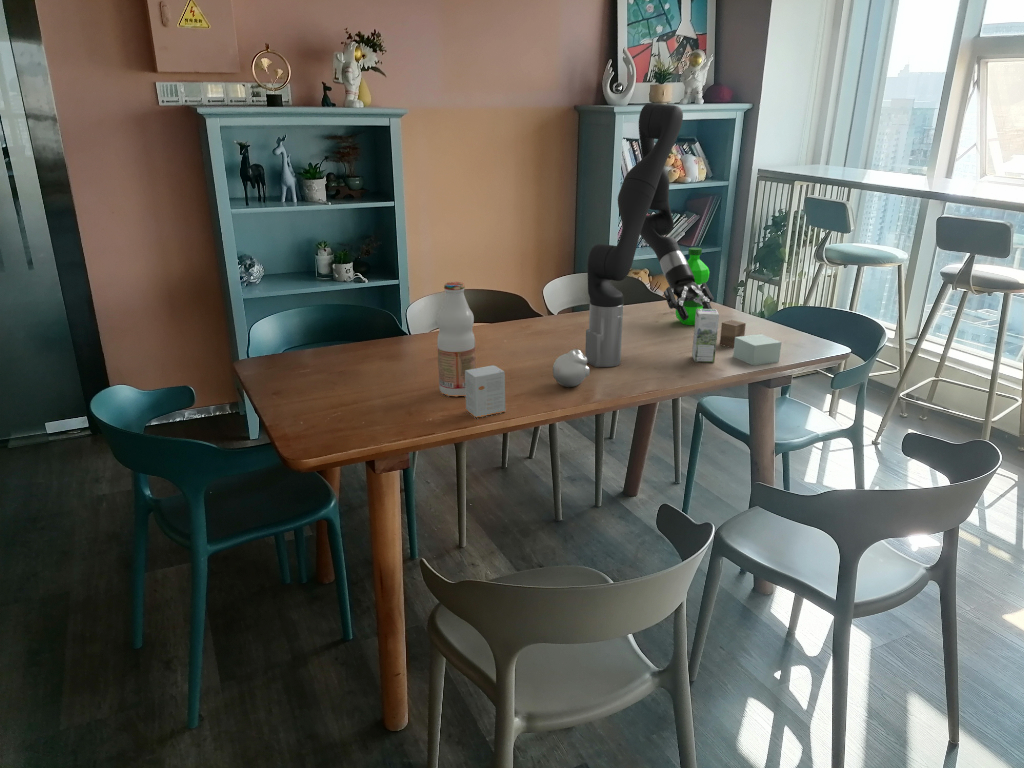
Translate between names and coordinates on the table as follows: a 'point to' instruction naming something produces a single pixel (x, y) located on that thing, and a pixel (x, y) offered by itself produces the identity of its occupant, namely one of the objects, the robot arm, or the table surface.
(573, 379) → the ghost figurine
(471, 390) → the small box
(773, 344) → the green block
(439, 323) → the fruit juice
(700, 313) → the milk carton
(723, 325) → the walnut block
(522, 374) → the table surface
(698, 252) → the plastic bottle
